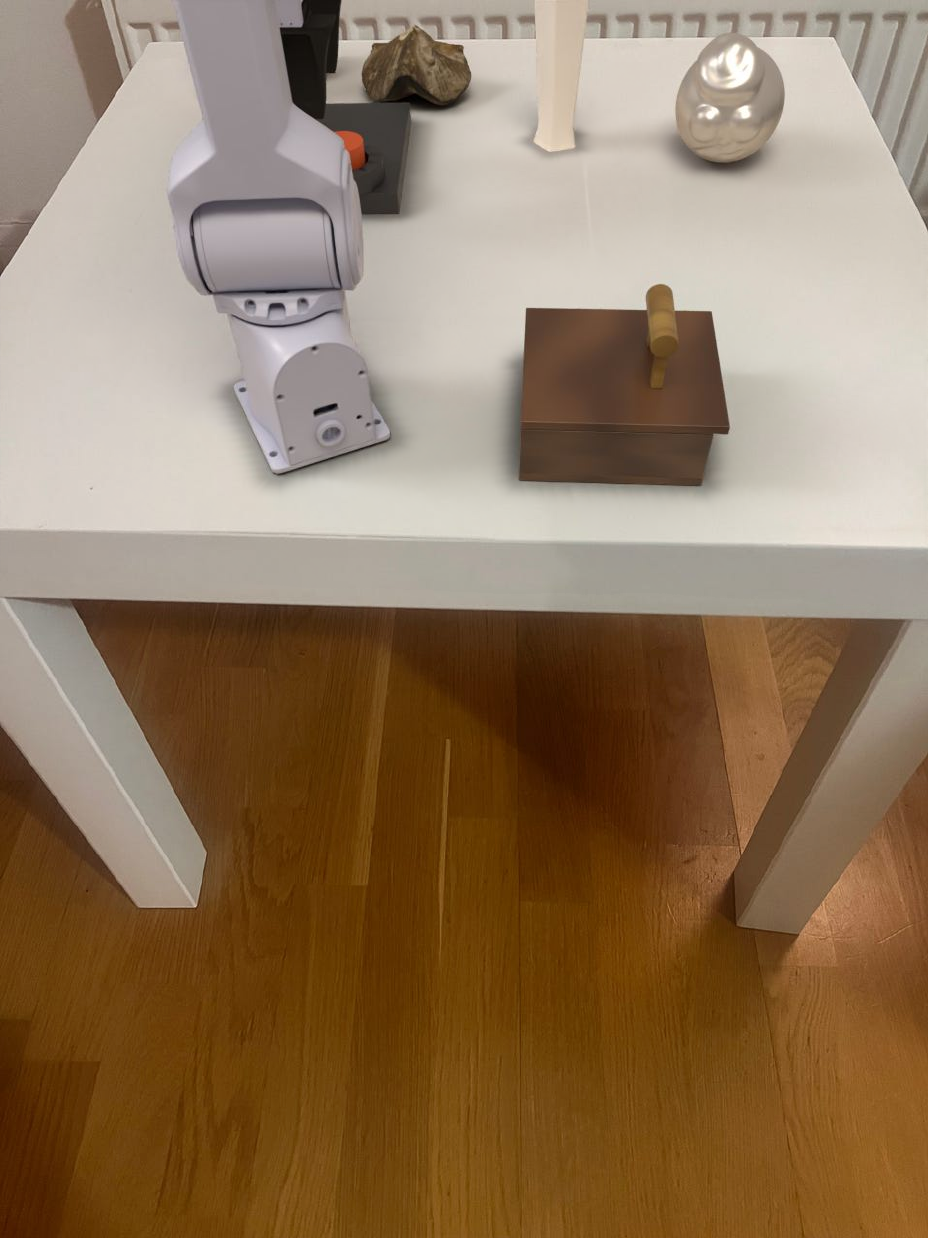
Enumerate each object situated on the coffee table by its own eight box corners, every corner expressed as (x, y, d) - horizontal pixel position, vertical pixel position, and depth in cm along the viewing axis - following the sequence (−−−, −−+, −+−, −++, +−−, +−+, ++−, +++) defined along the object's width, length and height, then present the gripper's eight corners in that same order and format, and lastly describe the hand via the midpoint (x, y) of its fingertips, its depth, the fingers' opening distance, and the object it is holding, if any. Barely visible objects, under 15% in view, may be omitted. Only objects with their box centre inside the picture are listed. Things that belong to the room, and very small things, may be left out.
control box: (398, 219, 77) (395, 178, 74) (289, 220, 77) (282, 179, 74) (411, 123, 87) (408, 83, 84) (315, 124, 87) (309, 84, 85)
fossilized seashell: (485, 57, 89) (395, 59, 93) (459, 3, 83) (364, 8, 87) (463, 130, 89) (374, 129, 93) (435, 81, 83) (341, 82, 87)
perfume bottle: (592, 144, 84) (609, -54, 72) (553, 158, 82) (564, -40, 70) (561, 124, 86) (572, -70, 74) (522, 138, 85) (527, -58, 73)
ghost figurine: (641, 156, 82) (657, 30, 74) (715, 122, 86) (738, -2, 78) (719, 197, 78) (745, 67, 70) (794, 159, 81) (826, 32, 73)
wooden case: (687, 370, 64) (697, 318, 61) (701, 486, 57) (714, 435, 54) (523, 366, 65) (525, 315, 62) (519, 480, 58) (520, 430, 55)
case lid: (710, 318, 61) (723, 255, 57) (728, 434, 54) (744, 371, 51) (525, 315, 62) (527, 252, 58) (520, 429, 55) (522, 366, 51)
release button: (363, 173, 75) (361, 151, 74) (318, 174, 75) (315, 152, 74) (367, 151, 78) (365, 130, 76) (324, 152, 78) (321, 130, 76)
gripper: (245, -157, 66) (279, 53, 77) (203, -87, 57) (249, 139, 68) (344, -159, 66) (365, 52, 76) (318, -89, 57) (346, 138, 68)
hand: (317, 93), depth 72 cm, fingers open, 7 cm apart
